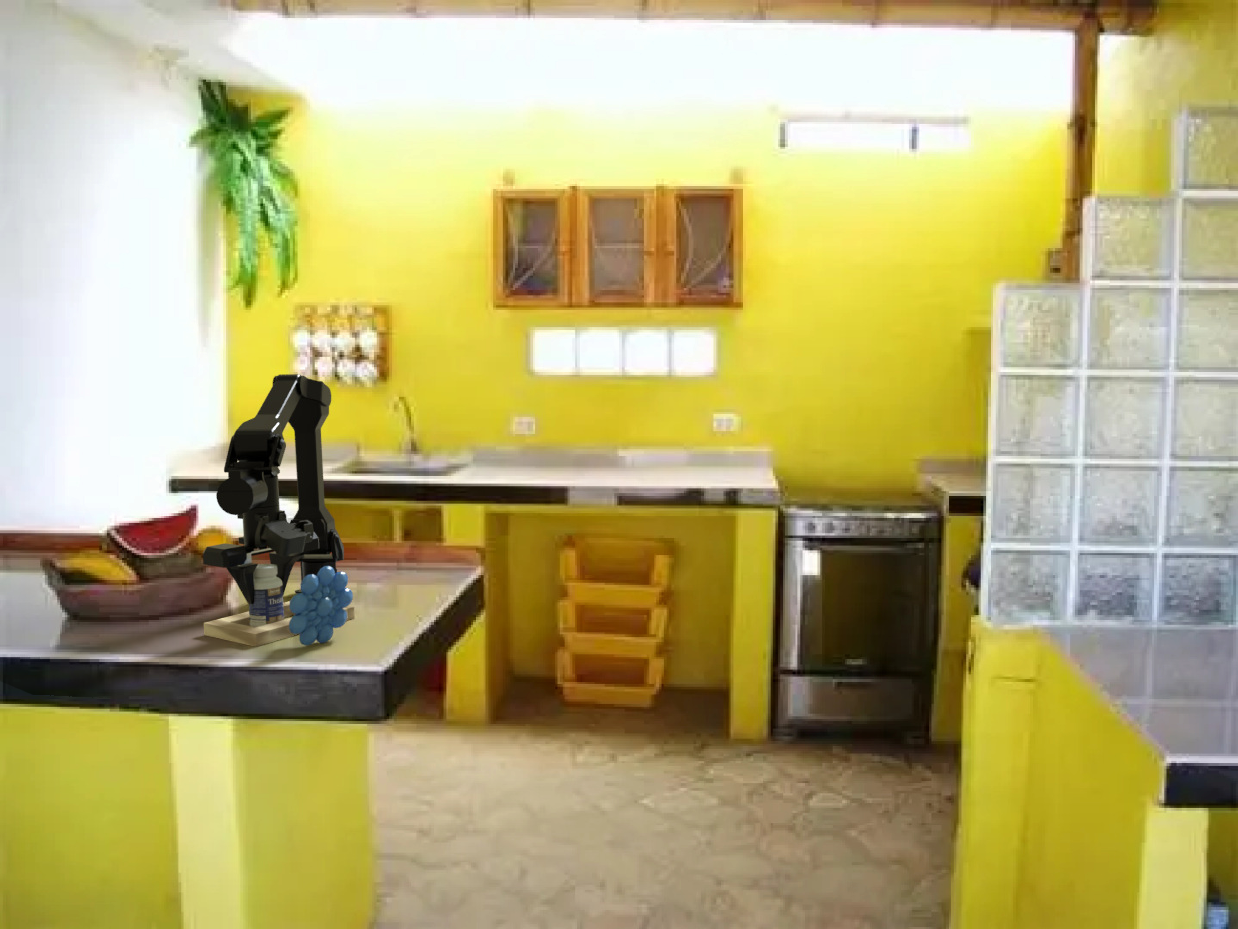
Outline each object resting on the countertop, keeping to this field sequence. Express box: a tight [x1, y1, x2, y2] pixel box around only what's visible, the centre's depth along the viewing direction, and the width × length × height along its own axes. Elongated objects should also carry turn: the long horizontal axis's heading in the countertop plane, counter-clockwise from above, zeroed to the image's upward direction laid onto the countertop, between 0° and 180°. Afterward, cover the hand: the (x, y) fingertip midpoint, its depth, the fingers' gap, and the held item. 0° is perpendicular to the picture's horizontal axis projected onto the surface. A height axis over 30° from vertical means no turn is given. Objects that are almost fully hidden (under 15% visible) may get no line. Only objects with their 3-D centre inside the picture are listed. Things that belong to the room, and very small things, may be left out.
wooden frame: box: [203, 600, 356, 647], centre depth 176 cm, size 20×13×2 cm, turn 146°
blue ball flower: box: [289, 566, 354, 647], centre depth 165 cm, size 12×7×12 cm, turn 142°
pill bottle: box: [248, 563, 285, 628], centre depth 173 cm, size 5×5×10 cm
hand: (265, 600), depth 173 cm, fingers closed on pill bottle, 5 cm apart
